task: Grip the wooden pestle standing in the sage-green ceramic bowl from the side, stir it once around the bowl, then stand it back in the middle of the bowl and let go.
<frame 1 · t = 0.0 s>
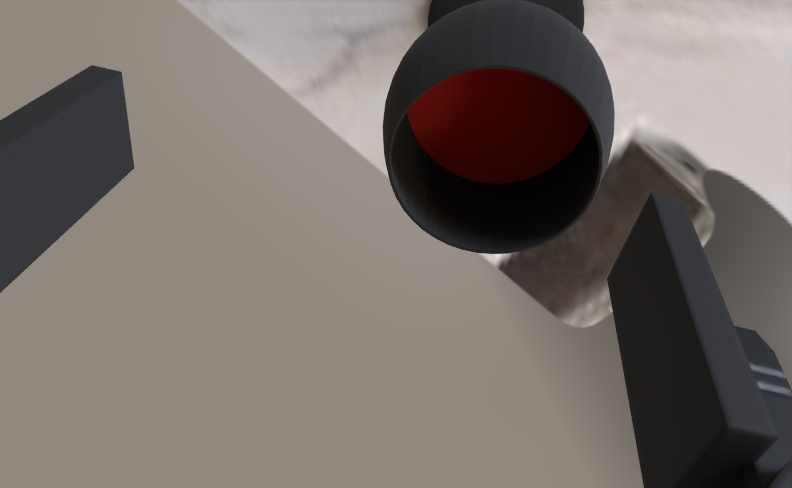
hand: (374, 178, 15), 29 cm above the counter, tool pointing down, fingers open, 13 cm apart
wine glass: (504, 24, 40), on the counter
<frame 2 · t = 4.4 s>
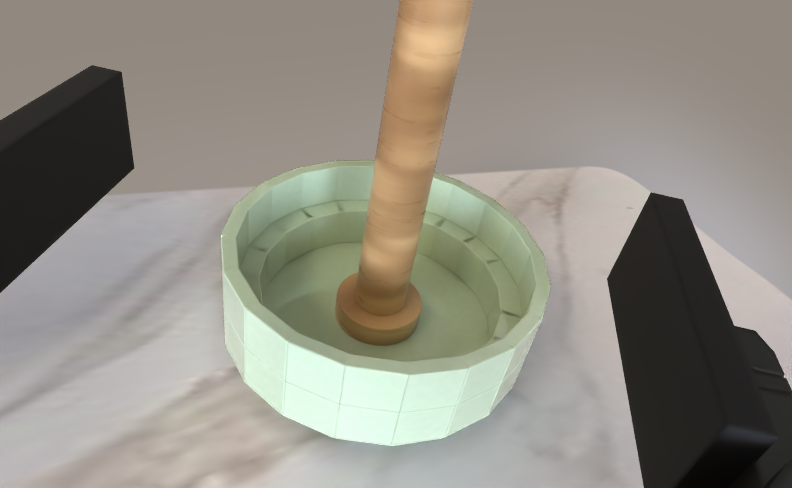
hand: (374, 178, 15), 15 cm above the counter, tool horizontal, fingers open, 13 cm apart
wooden pestle: (376, 314, 31), point 1 cm above the counter, touching bowl
bowl: (374, 324, 32), on the counter
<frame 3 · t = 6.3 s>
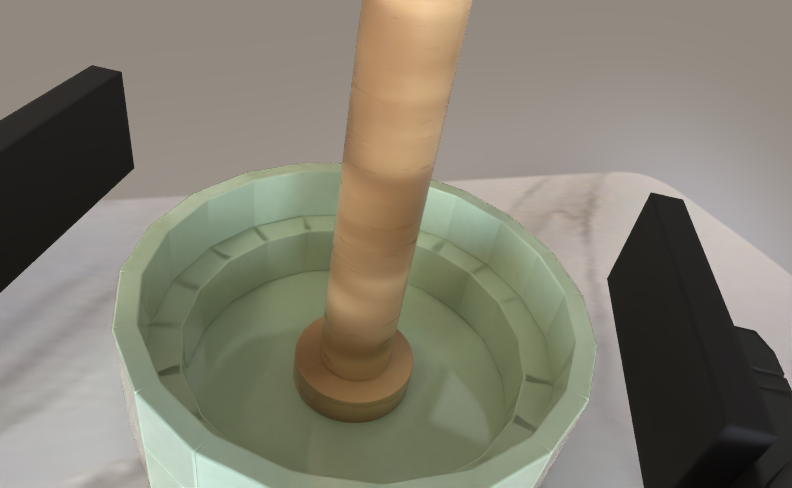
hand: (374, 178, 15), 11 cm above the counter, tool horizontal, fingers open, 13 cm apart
wooden pestle: (351, 374, 23), point 1 cm above the counter, touching bowl
bowl: (349, 387, 23), on the counter
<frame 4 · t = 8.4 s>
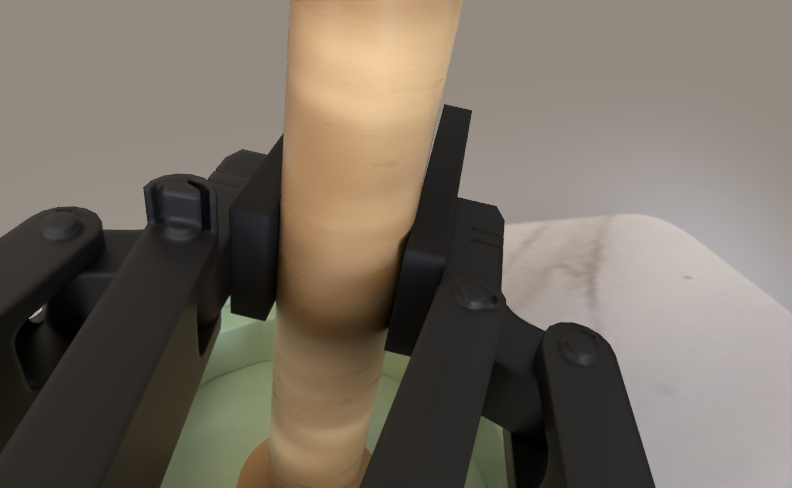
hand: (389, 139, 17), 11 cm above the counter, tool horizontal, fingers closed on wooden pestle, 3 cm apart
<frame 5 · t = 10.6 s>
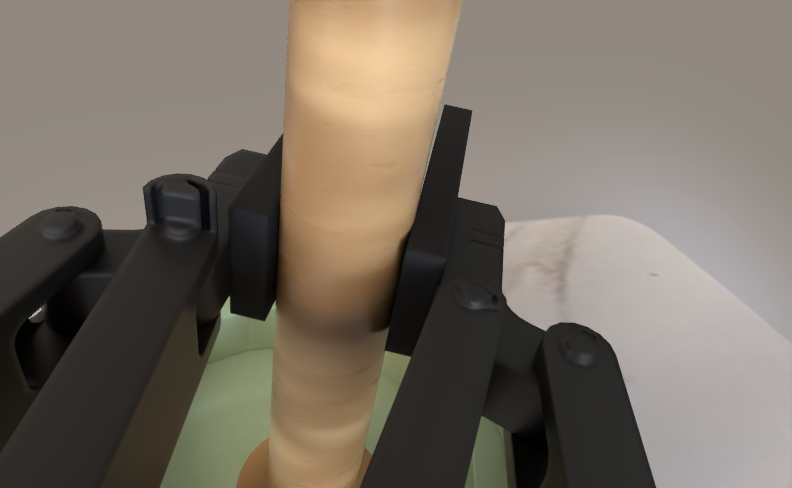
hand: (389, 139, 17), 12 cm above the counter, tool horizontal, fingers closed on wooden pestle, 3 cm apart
when the fingers open (11 cm above the counter, at t = 13.2 s): wooden pestle stays where it is, resting on bowl.
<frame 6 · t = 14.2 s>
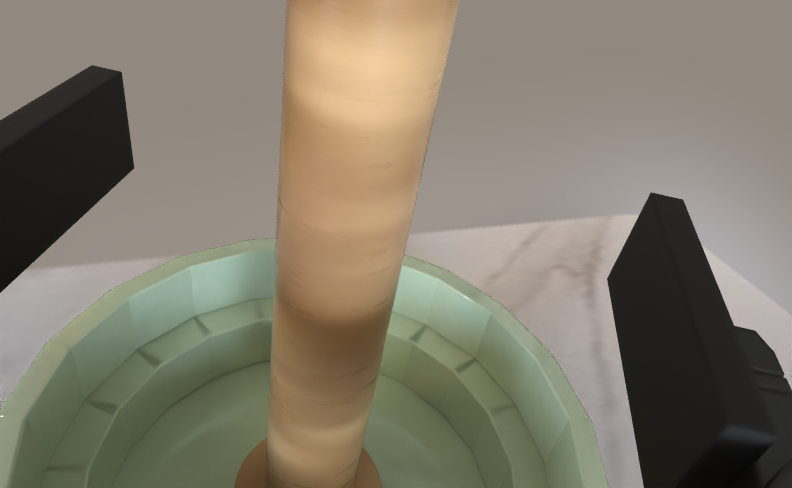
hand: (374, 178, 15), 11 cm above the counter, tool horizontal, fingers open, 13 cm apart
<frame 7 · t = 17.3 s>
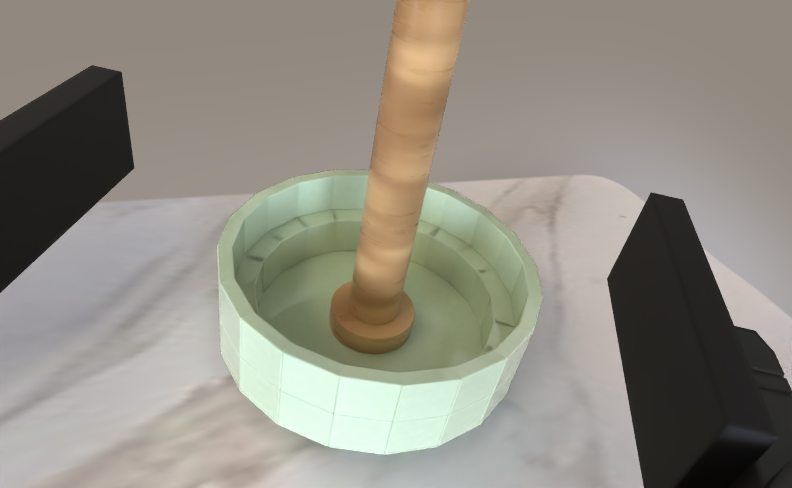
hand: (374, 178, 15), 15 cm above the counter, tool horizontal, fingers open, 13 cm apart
wooden pestle: (370, 322, 31), point 1 cm above the counter, touching bowl
bowl: (369, 333, 32), on the counter
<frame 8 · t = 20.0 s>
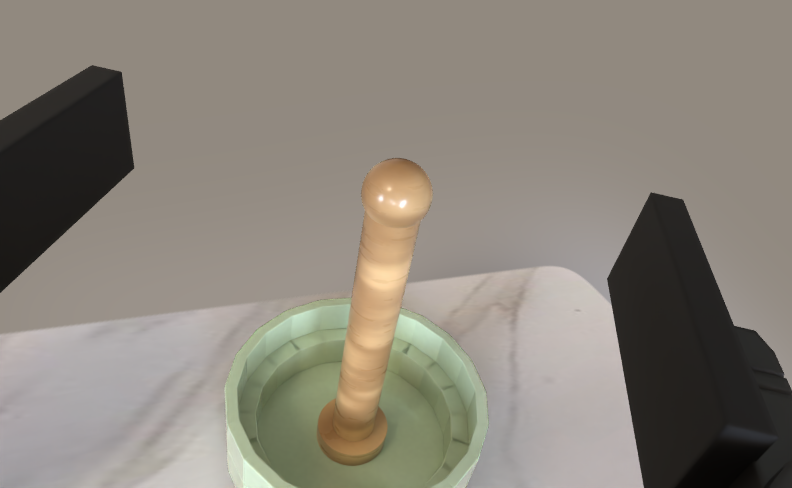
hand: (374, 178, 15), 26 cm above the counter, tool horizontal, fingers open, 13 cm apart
wooden pestle: (350, 434, 38), point 1 cm above the counter, touching bowl
bowl: (350, 441, 38), on the counter
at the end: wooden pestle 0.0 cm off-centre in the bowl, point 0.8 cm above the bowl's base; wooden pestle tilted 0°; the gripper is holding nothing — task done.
